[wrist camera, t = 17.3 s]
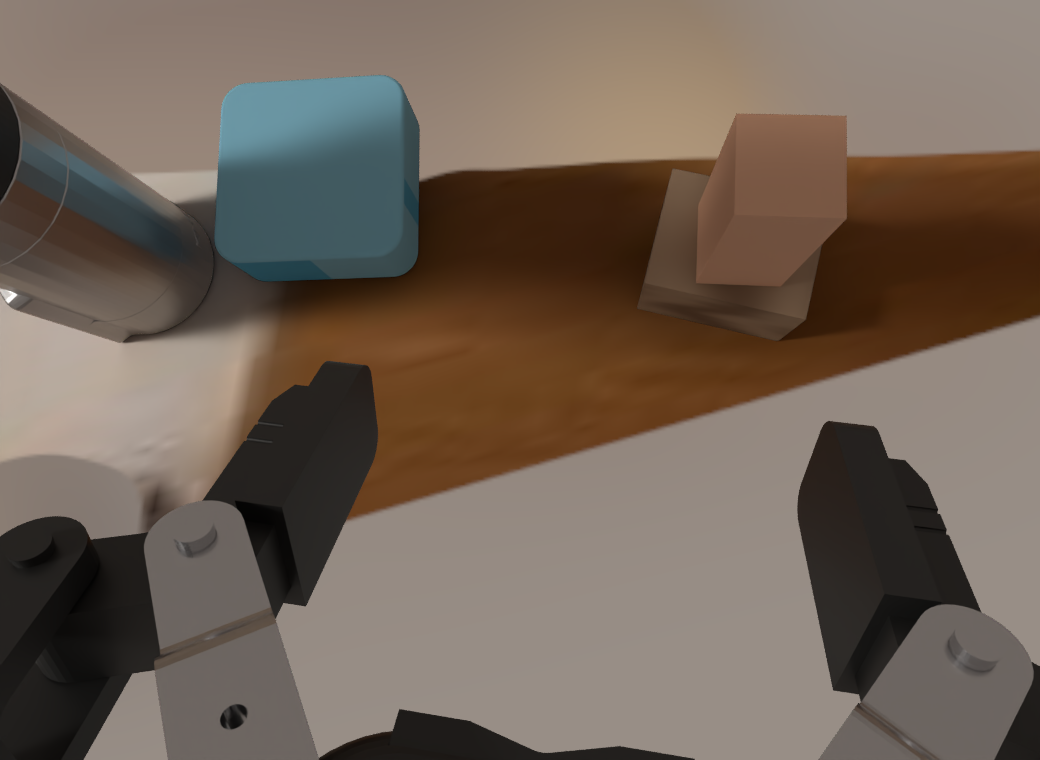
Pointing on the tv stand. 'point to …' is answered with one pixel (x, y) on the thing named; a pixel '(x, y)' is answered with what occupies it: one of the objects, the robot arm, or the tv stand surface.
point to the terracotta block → (771, 198)
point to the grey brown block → (715, 304)
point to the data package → (318, 179)
